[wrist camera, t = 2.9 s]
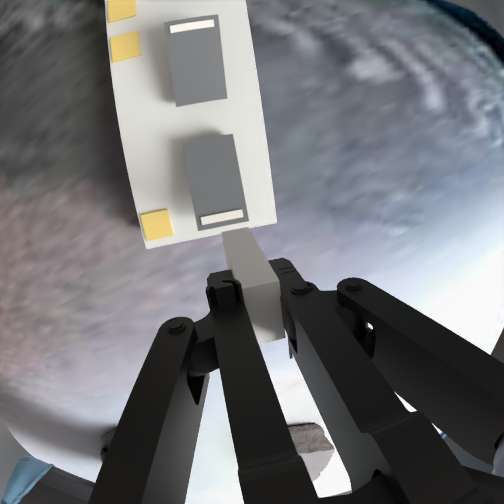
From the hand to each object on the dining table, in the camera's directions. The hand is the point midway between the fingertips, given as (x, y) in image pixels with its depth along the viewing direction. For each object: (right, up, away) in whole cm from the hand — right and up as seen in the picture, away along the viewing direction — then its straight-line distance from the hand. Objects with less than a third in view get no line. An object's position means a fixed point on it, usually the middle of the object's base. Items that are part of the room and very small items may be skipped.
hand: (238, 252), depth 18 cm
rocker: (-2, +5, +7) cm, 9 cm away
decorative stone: (+10, -35, +33) cm, 49 cm away
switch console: (-6, +17, +9) cm, 20 cm away
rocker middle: (-3, +15, +3) cm, 15 cm away
